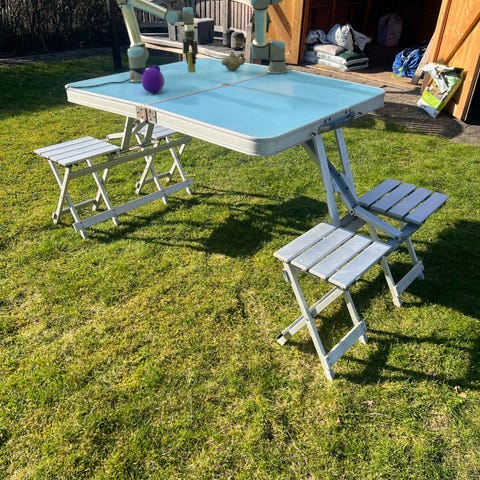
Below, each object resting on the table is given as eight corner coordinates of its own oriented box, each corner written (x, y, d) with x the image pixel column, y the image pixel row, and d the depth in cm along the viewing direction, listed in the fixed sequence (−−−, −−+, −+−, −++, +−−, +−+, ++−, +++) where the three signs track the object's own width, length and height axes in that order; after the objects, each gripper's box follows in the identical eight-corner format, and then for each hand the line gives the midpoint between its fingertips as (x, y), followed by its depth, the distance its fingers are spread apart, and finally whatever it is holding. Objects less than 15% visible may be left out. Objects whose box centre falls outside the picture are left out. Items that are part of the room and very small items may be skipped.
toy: (156, 85, 322) (164, 98, 301) (131, 81, 314) (137, 93, 294) (160, 63, 314) (168, 74, 293) (135, 58, 306) (141, 69, 286)
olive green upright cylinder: (197, 71, 350) (196, 52, 342) (191, 72, 345) (190, 53, 338) (191, 70, 353) (190, 51, 346) (186, 72, 349) (184, 52, 342)
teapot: (225, 73, 360) (224, 53, 352) (218, 71, 369) (217, 51, 361) (248, 70, 369) (247, 50, 362) (240, 68, 378) (240, 49, 370)
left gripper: (202, 31, 332) (203, 64, 344) (183, 29, 342) (185, 61, 354) (195, 31, 327) (196, 65, 339) (176, 30, 337) (179, 63, 349)
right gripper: (275, 3, 359) (275, 32, 370) (250, 3, 372) (250, 31, 383) (270, 4, 354) (270, 33, 365) (245, 3, 367) (245, 32, 378)
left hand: (191, 63), depth 346 cm, fingers closed on olive green upright cylinder, 6 cm apart
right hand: (260, 32), depth 374 cm, fingers open, 13 cm apart
